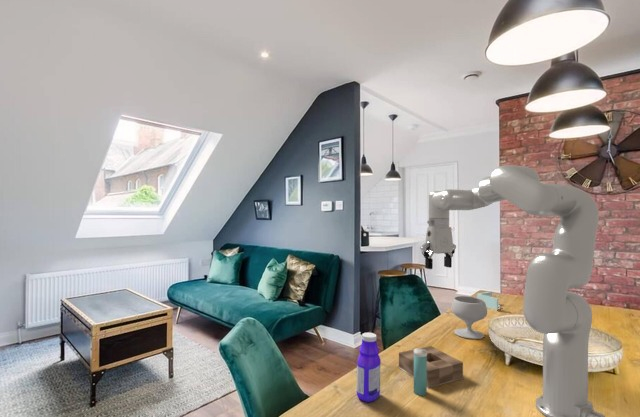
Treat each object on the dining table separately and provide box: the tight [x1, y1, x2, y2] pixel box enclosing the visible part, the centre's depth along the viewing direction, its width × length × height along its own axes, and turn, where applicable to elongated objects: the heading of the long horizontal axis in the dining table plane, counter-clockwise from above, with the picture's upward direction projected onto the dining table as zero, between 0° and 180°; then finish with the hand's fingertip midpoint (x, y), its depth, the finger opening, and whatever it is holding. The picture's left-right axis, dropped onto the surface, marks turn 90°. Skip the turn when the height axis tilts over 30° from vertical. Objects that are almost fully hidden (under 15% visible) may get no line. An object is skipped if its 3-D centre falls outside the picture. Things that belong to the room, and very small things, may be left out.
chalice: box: [451, 295, 488, 340], centre depth 143 cm, size 14×14×15 cm
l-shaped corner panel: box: [476, 291, 501, 311], centre depth 185 cm, size 12×12×8 cm
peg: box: [413, 347, 428, 397], centre depth 97 cm, size 4×4×12 cm
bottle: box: [356, 332, 382, 403], centre depth 94 cm, size 7×6×17 cm
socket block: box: [397, 345, 465, 389], centre depth 109 cm, size 14×14×5 cm
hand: (438, 267), depth 128 cm, fingers open, 9 cm apart
